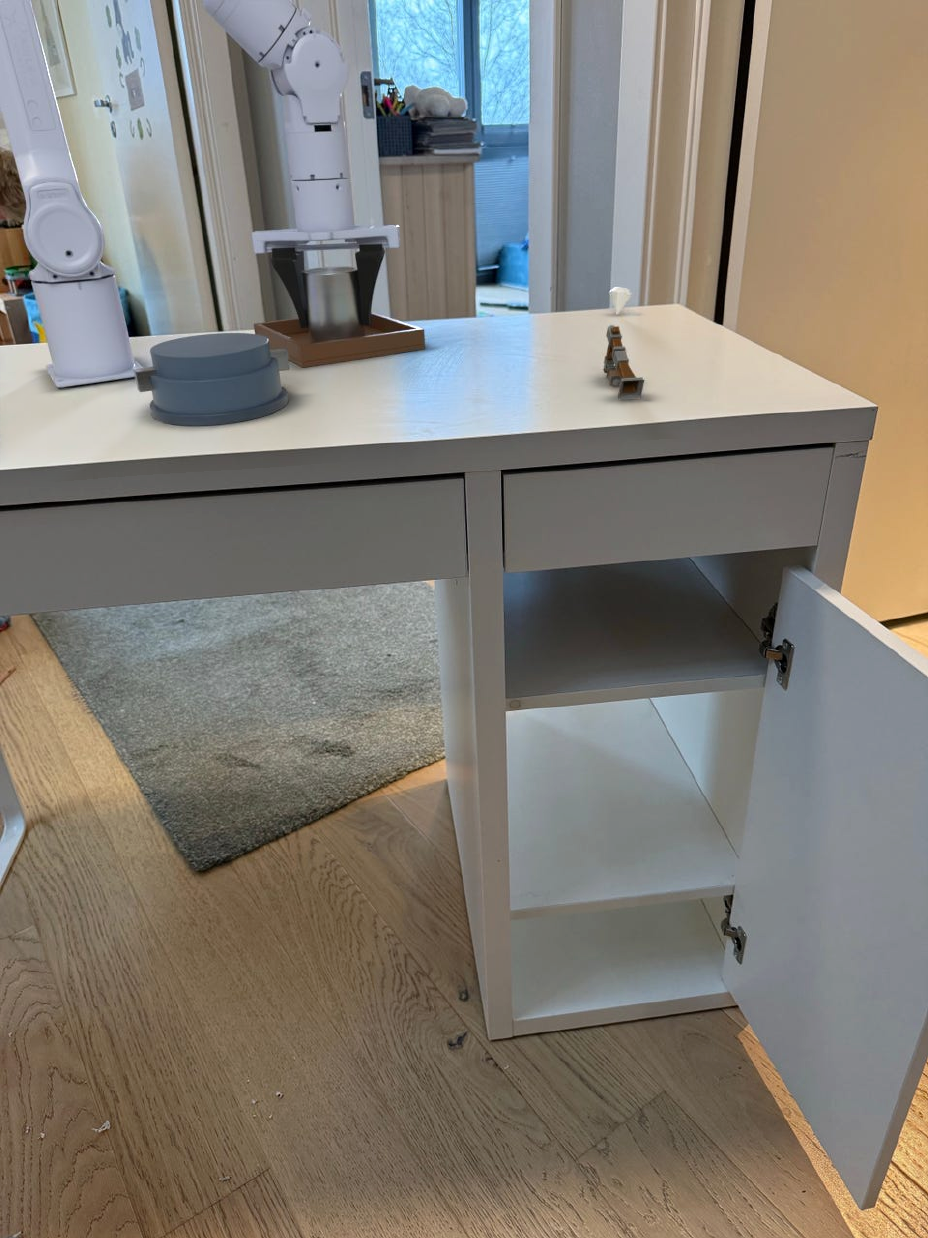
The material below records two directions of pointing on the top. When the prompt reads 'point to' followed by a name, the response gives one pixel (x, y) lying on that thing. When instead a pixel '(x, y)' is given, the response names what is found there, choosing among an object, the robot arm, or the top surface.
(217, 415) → the lidded cooking pot
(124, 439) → the top surface
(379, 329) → the tray
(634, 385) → the brown grey angular piece
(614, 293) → the gemstone
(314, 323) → the cup
